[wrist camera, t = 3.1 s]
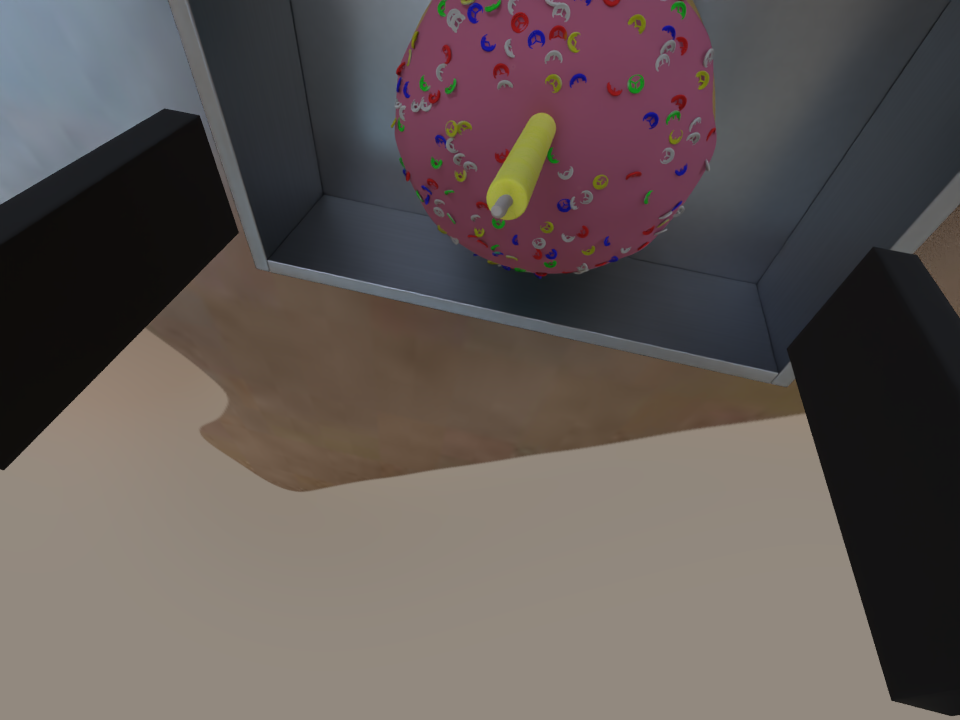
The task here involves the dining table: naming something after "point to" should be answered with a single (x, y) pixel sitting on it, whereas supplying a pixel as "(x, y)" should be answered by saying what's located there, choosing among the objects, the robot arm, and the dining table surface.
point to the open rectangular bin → (689, 237)
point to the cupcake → (556, 125)
